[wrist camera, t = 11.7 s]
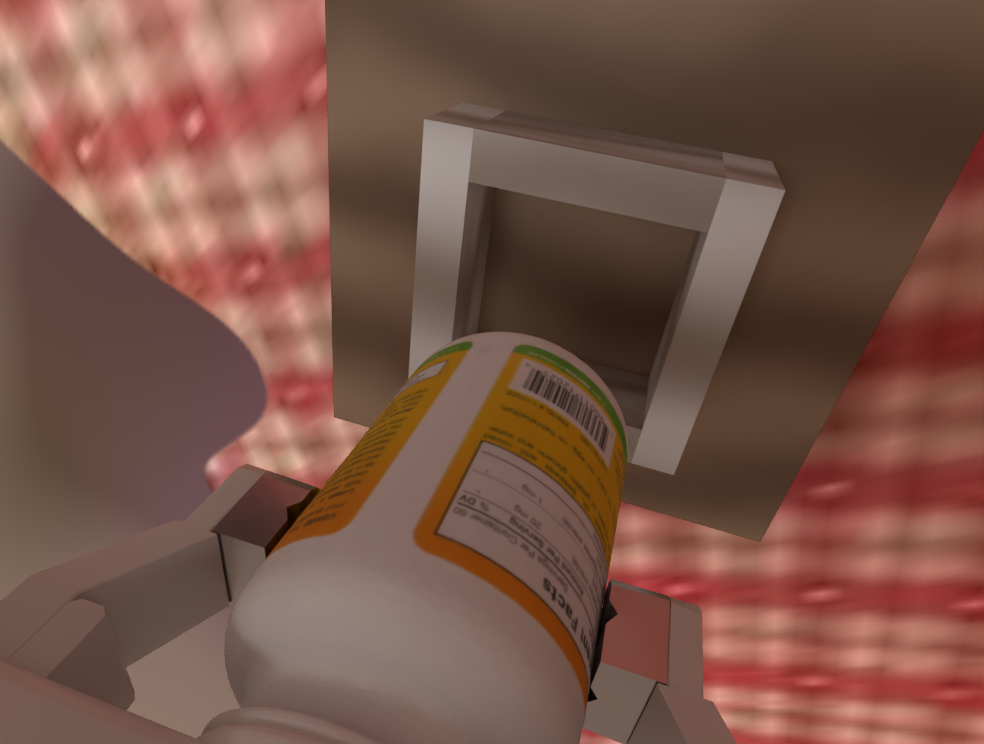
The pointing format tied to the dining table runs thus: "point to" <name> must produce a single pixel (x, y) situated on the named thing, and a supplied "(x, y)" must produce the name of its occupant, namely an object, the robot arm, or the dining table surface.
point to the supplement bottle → (442, 565)
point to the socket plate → (645, 207)
